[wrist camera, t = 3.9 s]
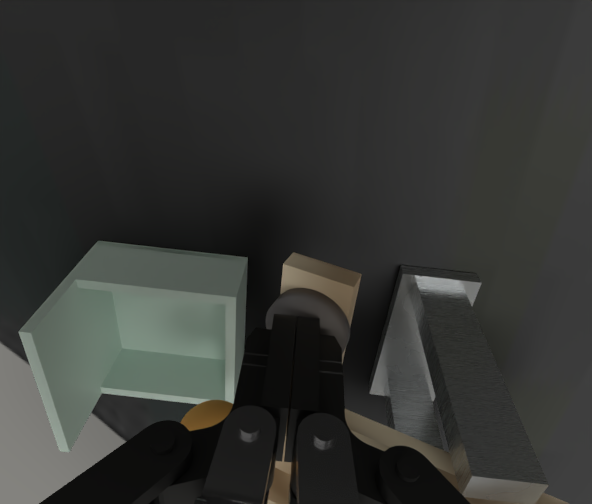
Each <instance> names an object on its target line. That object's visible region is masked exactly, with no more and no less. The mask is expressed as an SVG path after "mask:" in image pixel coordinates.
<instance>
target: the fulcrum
mask: <svg viewBox="0 0 592 504" xmlns="http://www.w3.org/2000/svg"><path fill="white" fill-rule="evenodd" d="M480 286H481V281H480V279H479V277H478V275H477V274H476V273H467V272H458V271H449V270H440V269H431V268H423V267H414V266H405V265H401V266H400V269H399V273H398V277H397V280H396V284H395V288H394V291H393V295H392V299H391V303H390V306H389V310H388V314H387V317H386V321H385V325H384V328H383V332H382V336H381V340H380V343H379V347H378V351H377V354H376V358H375V362H374V365H373V369H372V373H371V376H370V380H369V394H375V395H383V396H384V398H385V405H386V413H387V420H388V427H389V428H392V429H394V430H396V431H399V432H401V433H403V434H406V435H408V436H411V437H413V438H415V439H418V440H420V441H422V442H425V443H427V444H429V445H432V446H434V447H436V448H439V449H441V450H444V449H443V445H442V440H441V436H440V432H439V428H438V424H437V420H436V416H435V412H434V407H433V403H432V401H434V399H435V397H436V400H437V404H438V408H439V412H440V416H441V420H442V424H443V428H444V432H445V436H446V440H447V444H448V448H449V452H450V456H451V460H452V463H453V467H454V471H455V475H456V479H457V483H458V487H459V491H460V493H461V494H462V495H463V496H464V497H469V498H478V499H486V500H495V501H504V502H512V503H521V504H535V503H536V502H537V500H538V499H539V498H540V496H541V495H542V494H543V492H544V491H545V489H546V488H547V487H548V485H549V484H548V482H547V479H546V477H545V475H544V472H543V470H542V468H541V466H540V463H539V461H538V459H537V456H536V454H535V452H534V449H533V447H532V445H531V442H530V440H529V438H528V435H527V433H526V431H525V428H524V426H523V424H522V422H521V419H520V417H519V415H518V412H517V410H516V408H515V405H514V403H513V401H512V398H511V396H510V394H509V391H508V389H507V387H506V385H505V382H504V380H503V378H502V375H501V373H500V371H499V368H498V366H497V364H496V361H495V359H494V357H493V354H492V352H491V350H490V347H489V345H488V343H487V341H486V338H485V336H484V334H483V331H482V329H481V327H480V324H479V322H478V320H477V317H476V315H475V313H474V310H473V308H472V305H473V303H474V300H475V298H476V295H477V293H478V290H479V288H480Z"/></svg>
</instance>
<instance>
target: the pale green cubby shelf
mask: <svg viewBox="0 0 592 504" xmlns="http://www.w3.org/2000/svg"><path fill="white" fill-rule="evenodd" d="M247 268H248V257H240V256H231V255H222V254H213V253H204V252H196V251H187V250H178V249H169V248H160V247H151V246H142V245H133V244H125V243H116V242H107V241H97V242H96V244H95V245H94V246H93V247H92V248H91V249H90V250H89V252H88V253H87V254H86V255H85V256H84V257H83V258H82V260H81V261H80V262H79V263H78V264H77V265H76V266H75V268H74V269H73V270H72V271H71V272H70V273H69V274H68V276H67V277H66V278H65V279H64V280H63V281H62V282H61V284H60V285H59V286H58V287H57V288H56V289H55V290H54V292H53V293H52V294H51V295H50V296H49V297H48V298H47V300H46V301H45V302H44V303H43V304H42V305H41V306H40V308H39V309H38V310H37V311H36V312H35V313H34V314H33V316H32V317H31V318H30V319H29V320H28V321H27V322H26V324H25V325H24V326H23V327H22V328H21V329H20V330H19V335H20V338H21V341H22V344H23V346H24V349H25V352H26V355H27V358H28V361H29V364H30V367H31V370H32V372H33V375H34V378H35V381H36V384H37V387H38V390H39V393H40V396H41V398H42V401H43V404H44V407H45V410H46V413H47V416H48V419H49V422H50V425H51V428H52V430H53V433H54V436H55V439H56V442H57V445H58V448H59V451H64V452H70V451H71V449H72V447H73V445H74V443H75V441H76V440H77V438H78V436H79V434H80V432H81V430H82V429H83V427H84V425H85V423H86V421H87V419H88V417H89V416H90V414H91V412H92V410H93V408H94V407H95V405H96V403H97V401H98V399H99V397H100V396H101V394H102V393H105V394H114V395H122V396H131V397H140V398H149V399H157V400H166V401H175V402H184V403H192V404H200V403H202V402H205V401H209V400H224V401H228V402H230V403H232V404H233V403H234V398H235V394H236V389H237V384H238V380H239V375H240V370H241V365H242V361H243V356H244V346H245V320H246V294H247Z"/></svg>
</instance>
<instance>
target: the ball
mask: <svg viewBox="0 0 592 504" xmlns="http://www.w3.org/2000/svg"><path fill="white" fill-rule="evenodd" d="M232 407H233V404H232V403H230V402H228V401H224V400H209V401H205V402H202V403H200V404H198V405H196V406H195V407H193V408H192V409H191V410H190V411H189V412H188V413H187V414H186V415H185V416H184V418H183V419H182V421H181V424H183V425H184V426H185V427H187V429H188V430H189V431H193V430H198V429H203V428H207V427H211V426H213V425H216V424H217V423H219V422H221V421H222V420H223V419H225V417H226V416H227V415H228V414H229V413H230V411H231V409H232Z"/></svg>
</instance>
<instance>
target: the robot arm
mask: <svg viewBox="0 0 592 504" xmlns="http://www.w3.org/2000/svg"><path fill="white" fill-rule="evenodd" d="M295 324H296V316H293V315H283V314H274V317H273V324H272V330H271V329H261V328H256V329H255V330H254V331H253V332H252V333H251V335H250V336H249V337H248V338H247V342H246V346H245V351H244V356H243V361H242V365H241V370H240V375H239V380H238V384H237V389H236V394H235V398H234V403H233V407H232V409H231V411H230V413H229V414H228V415H227V416H226V417H225V419H223V420H222V421H221V422H219V423H217V424H216V425H213V426H211V427H207V428H203V429H198V430H193V431H189V430H188V429H187V427H185V426H184V425H183V424H181V423H179V422H176V421H160V422H157V423H154V424H152V425H150V426H148V427H147V428H145V429H144V430H143V431H141V432H140V433H138V434H137V435H136V436H134V437H133V438H131V439H130V440H128V441H127V442H126V443H124V444H123V445H121V446H120V447H119V448H117V449H116V450H114V451H113V452H111V453H110V454H109V455H107V456H106V457H104V458H103V459H102V460H100V461H99V462H98V463H96V464H95V465H93V466H92V467H90V468H89V469H87V470H86V471H85V472H83V473H82V474H80V475H79V476H78V477H76V478H75V479H73V480H72V481H71V482H69V483H68V484H67V485H65V486H63V487H62V488H61V489H59V490H58V491H56V492H55V493H53V494H52V495H51V496H49V497H48V498H46V499H45V500H44V501H42V502H41V503H39V504H268V498H269V493H270V488H271V486H272V483H273V479H274V471H275V462H276V461H281V462H282V458H283V450H284V442H285V434H286V444H285V456H284V462H291V476H290V484H289V504H471V503H470V502H469V501H468V500H467V499H466V498H465V497H464V496H463V495H462V494H461V493H460V492H459V491H458V490H457V489H456V488H455V487H454V486H453V485H452V484H451V483H450V482H449V481H448V480H447V479H446V478H445V477H444V476H443V474H442V473H441V472H440V471H439V470H438V469H437V468H436V467H435V466H434V465H433V464H432V463H431V462H430V461H429V460H428V459H427V458H426V457H425V456H424V455H423V454H422V453H420V452H419V451H417V450H415V449H413V448H411V447H408V446H400V445H399V446H393V447H390V448H389V449H387V450H386V451H382V450H380V449H378V448H375V447H373V446H371V445H368V444H366V443H364V442H363V441H361V440H360V439H358V438H357V437H356V436H355V435H354V434H353V433H352V432H351V430H350V429H349V427H348V425H347V422H346V419H345V406H344V386H343V366H342V348H341V347H340V345H339V343H338V341H337V339H336V338H335V336H330V335H320V318H313V317H303V316H298V317H297V324H296V333H295ZM294 336H295V341H294ZM287 418H288V419H287ZM286 426H287V431H286Z"/></svg>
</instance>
